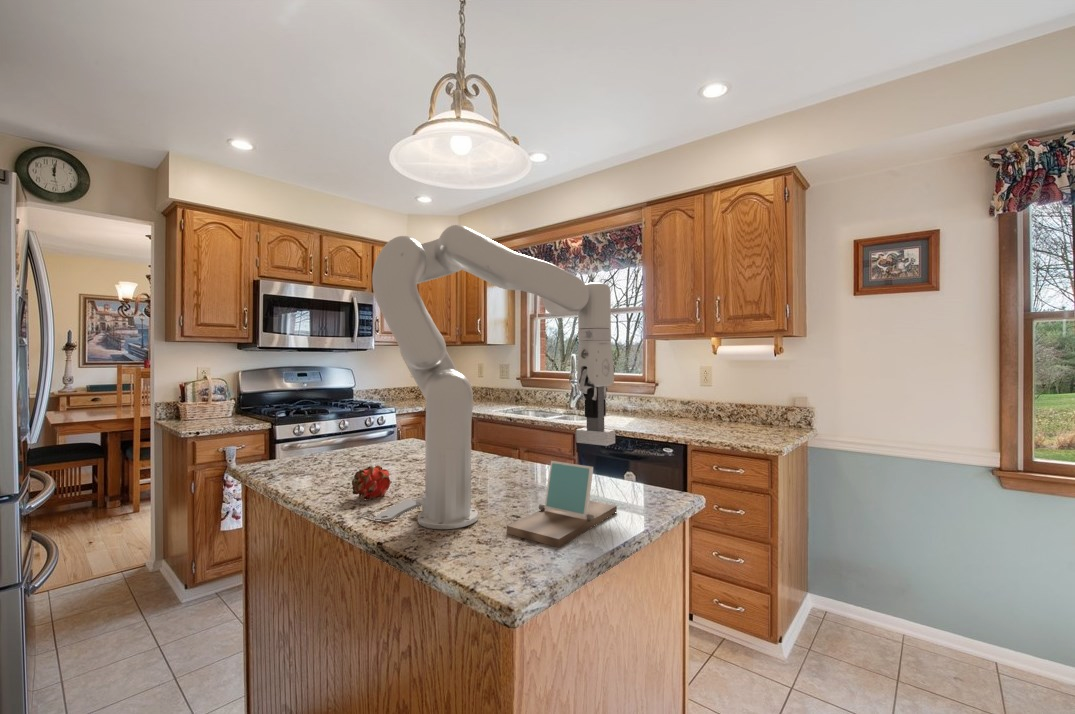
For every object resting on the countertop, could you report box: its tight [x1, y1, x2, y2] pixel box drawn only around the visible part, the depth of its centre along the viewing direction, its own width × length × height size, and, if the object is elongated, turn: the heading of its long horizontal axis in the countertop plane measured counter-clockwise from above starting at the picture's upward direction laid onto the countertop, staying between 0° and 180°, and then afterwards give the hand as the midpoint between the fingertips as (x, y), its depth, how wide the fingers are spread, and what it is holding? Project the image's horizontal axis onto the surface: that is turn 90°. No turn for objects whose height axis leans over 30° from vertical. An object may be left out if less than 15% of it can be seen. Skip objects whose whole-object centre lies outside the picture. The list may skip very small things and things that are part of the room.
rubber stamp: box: [575, 383, 616, 447], centre depth 110 cm, size 4×8×14 cm, turn 55°
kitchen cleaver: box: [371, 499, 422, 521], centre depth 111 cm, size 24×1×10 cm
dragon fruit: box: [351, 465, 393, 501], centre depth 117 cm, size 8×8×12 cm
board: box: [506, 500, 618, 548], centre depth 99 cm, size 13×24×3 cm, turn 145°
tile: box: [544, 460, 594, 517], centre depth 100 cm, size 10×10×1 cm
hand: (595, 415), depth 110 cm, fingers closed on rubber stamp, 3 cm apart
